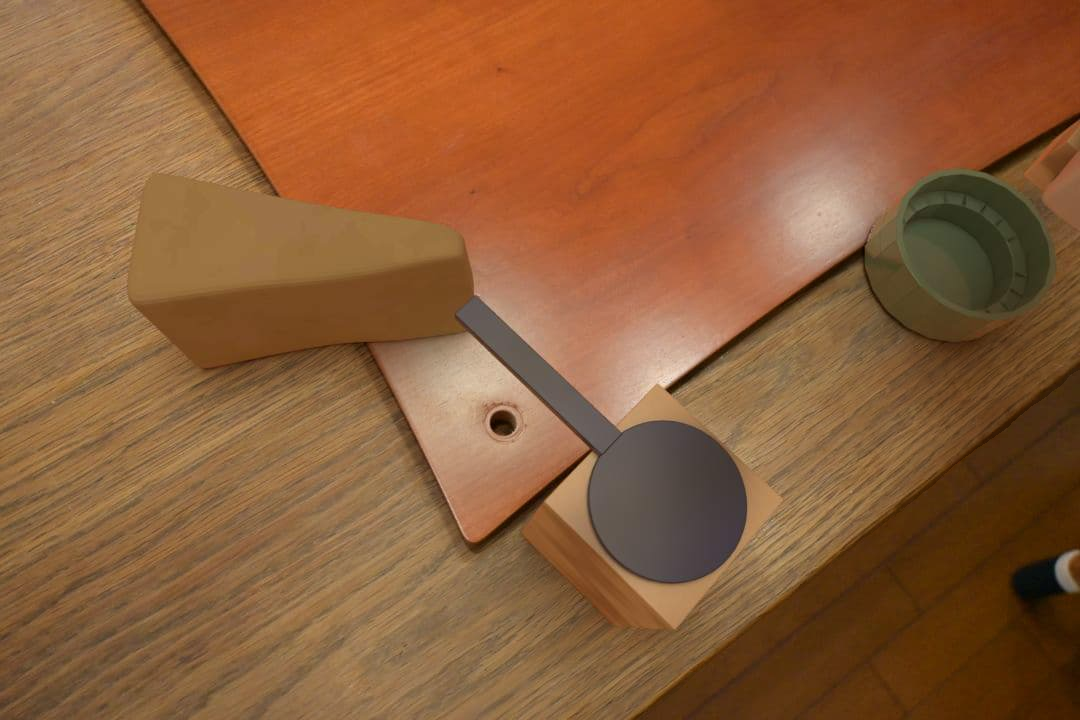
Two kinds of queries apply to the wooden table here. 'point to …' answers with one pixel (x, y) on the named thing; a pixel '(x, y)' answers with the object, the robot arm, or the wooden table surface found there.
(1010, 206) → the green round bowl
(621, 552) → the spoon stand
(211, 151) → the wooden table surface
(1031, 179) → the wooden block
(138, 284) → the tan wooden wedge
